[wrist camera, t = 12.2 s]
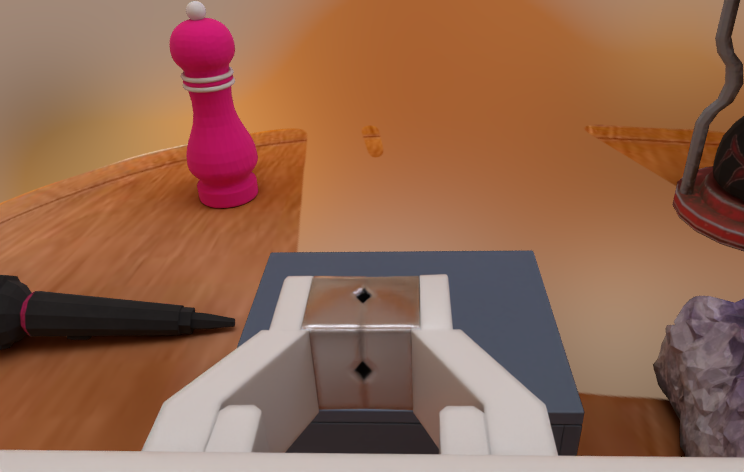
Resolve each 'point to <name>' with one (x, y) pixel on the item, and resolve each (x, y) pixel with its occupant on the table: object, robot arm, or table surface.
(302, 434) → the case
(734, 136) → the hourglass
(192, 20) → the pepper mill
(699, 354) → the geode
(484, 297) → the lid
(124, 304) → the microphone
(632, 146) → the table surface
